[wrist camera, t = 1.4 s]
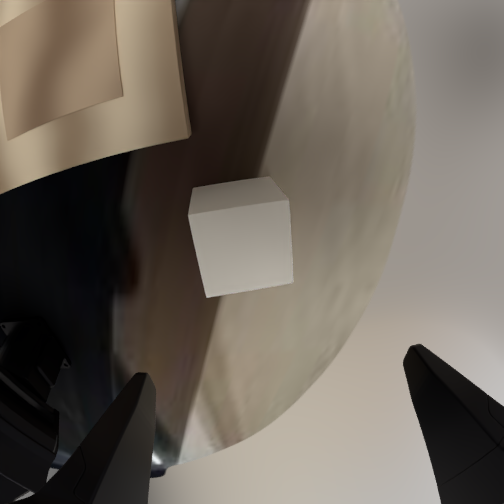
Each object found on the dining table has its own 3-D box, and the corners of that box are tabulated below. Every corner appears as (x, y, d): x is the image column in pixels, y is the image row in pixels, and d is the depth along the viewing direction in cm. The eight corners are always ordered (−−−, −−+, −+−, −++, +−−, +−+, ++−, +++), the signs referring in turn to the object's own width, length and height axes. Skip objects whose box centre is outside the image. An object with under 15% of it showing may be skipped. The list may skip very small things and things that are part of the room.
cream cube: (206, 255, 21) (206, 297, 16) (192, 187, 18) (187, 215, 14) (275, 243, 21) (293, 283, 17) (269, 175, 19) (289, 199, 14)
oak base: (13, 184, 16) (-11, 198, 13) (-5, 20, 9) (-28, 15, 6) (191, 133, 17) (188, 138, 14) (171, -52, 10) (165, -75, 7)
